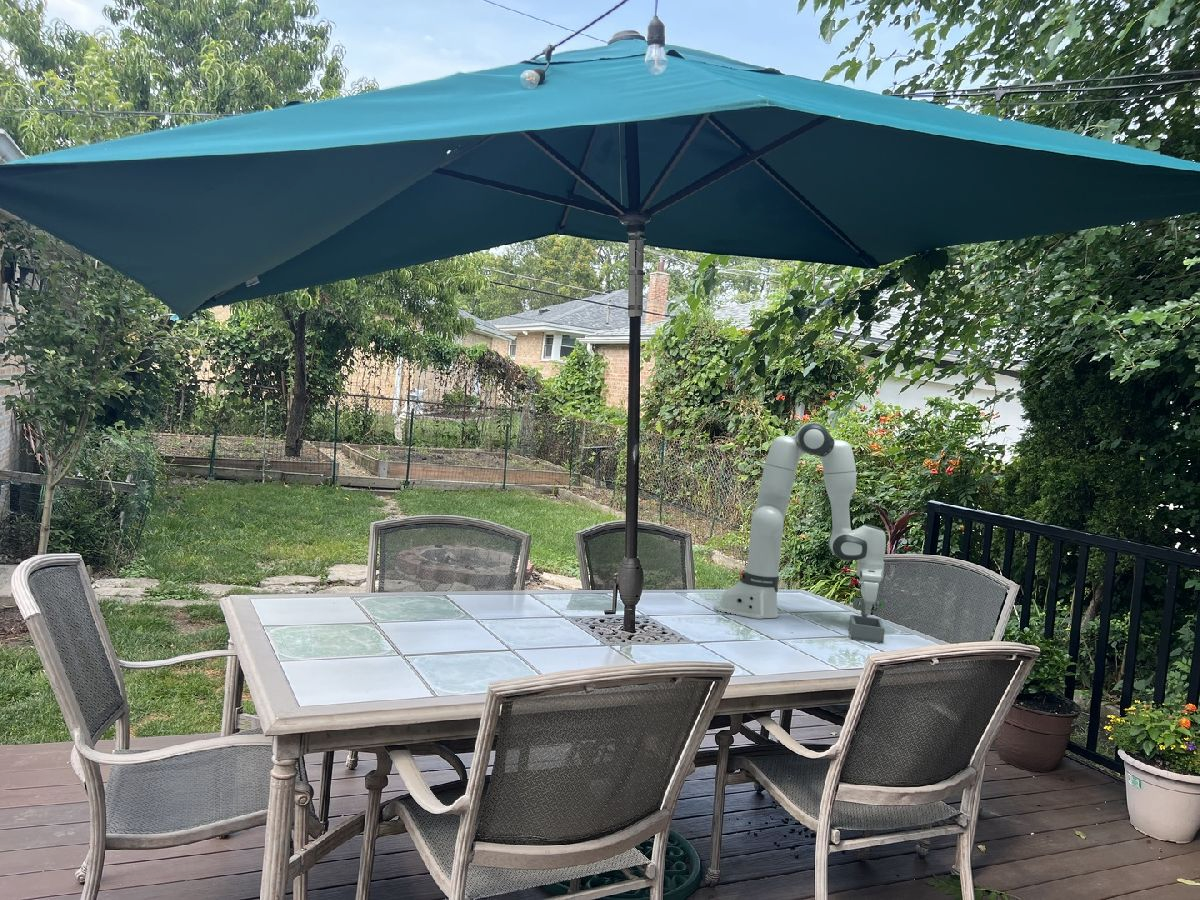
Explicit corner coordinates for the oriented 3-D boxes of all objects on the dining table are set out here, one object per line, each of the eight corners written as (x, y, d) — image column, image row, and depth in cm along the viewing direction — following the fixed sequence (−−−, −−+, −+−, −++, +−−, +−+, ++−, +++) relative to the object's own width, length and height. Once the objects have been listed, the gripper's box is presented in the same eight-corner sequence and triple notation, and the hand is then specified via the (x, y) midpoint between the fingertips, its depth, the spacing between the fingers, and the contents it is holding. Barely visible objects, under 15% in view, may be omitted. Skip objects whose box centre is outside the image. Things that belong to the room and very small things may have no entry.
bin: (851, 639, 276) (852, 624, 276) (848, 629, 291) (850, 614, 291) (883, 644, 274) (884, 628, 274) (879, 633, 289) (880, 619, 288)
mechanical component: (878, 630, 293) (881, 602, 292) (848, 626, 295) (851, 598, 294) (877, 628, 296) (880, 600, 295) (847, 624, 298) (850, 596, 297)
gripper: (858, 566, 305) (855, 604, 306) (862, 575, 285) (858, 616, 286) (877, 568, 304) (873, 606, 304) (882, 577, 284) (878, 618, 284)
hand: (866, 611), depth 295 cm, fingers open, 8 cm apart
